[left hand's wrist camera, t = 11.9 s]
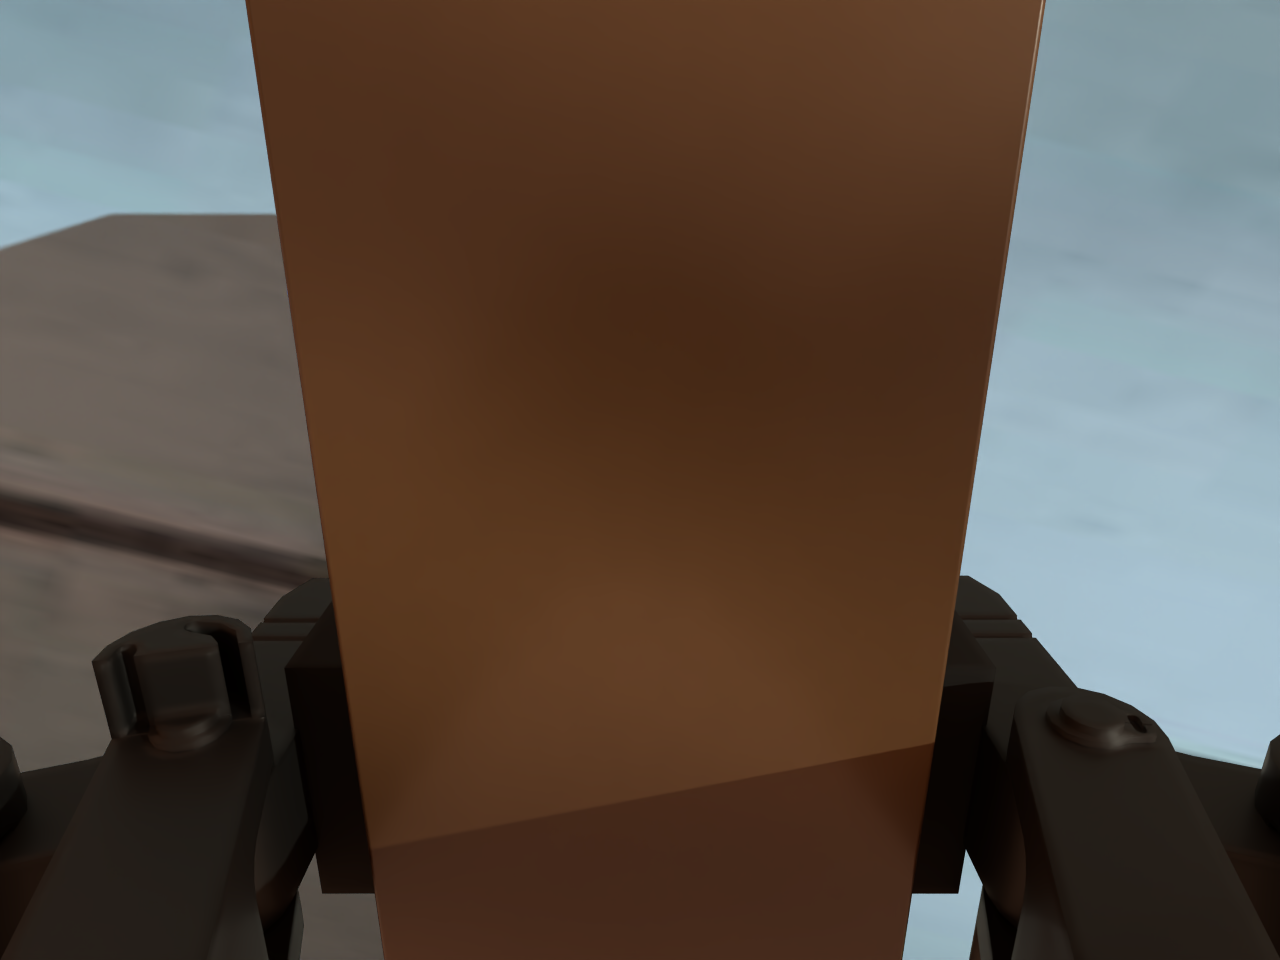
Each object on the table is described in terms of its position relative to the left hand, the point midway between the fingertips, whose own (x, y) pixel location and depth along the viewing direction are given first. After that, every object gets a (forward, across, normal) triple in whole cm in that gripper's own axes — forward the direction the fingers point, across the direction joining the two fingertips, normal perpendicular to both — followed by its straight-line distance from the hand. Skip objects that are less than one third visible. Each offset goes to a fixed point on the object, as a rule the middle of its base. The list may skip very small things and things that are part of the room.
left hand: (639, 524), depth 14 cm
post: (+1, 0, -33) cm, 33 cm away
